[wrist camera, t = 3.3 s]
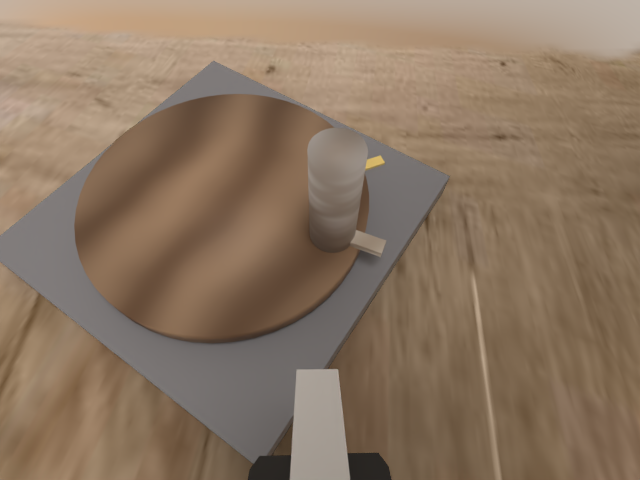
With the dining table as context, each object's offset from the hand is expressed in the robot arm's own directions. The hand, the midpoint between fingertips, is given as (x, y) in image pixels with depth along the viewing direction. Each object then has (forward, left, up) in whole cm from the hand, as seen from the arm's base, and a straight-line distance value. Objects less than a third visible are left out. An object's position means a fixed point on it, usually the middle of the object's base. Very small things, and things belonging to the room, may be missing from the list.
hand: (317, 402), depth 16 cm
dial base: (-9, -14, -12) cm, 20 cm away
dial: (-9, -14, -9) cm, 19 cm away
